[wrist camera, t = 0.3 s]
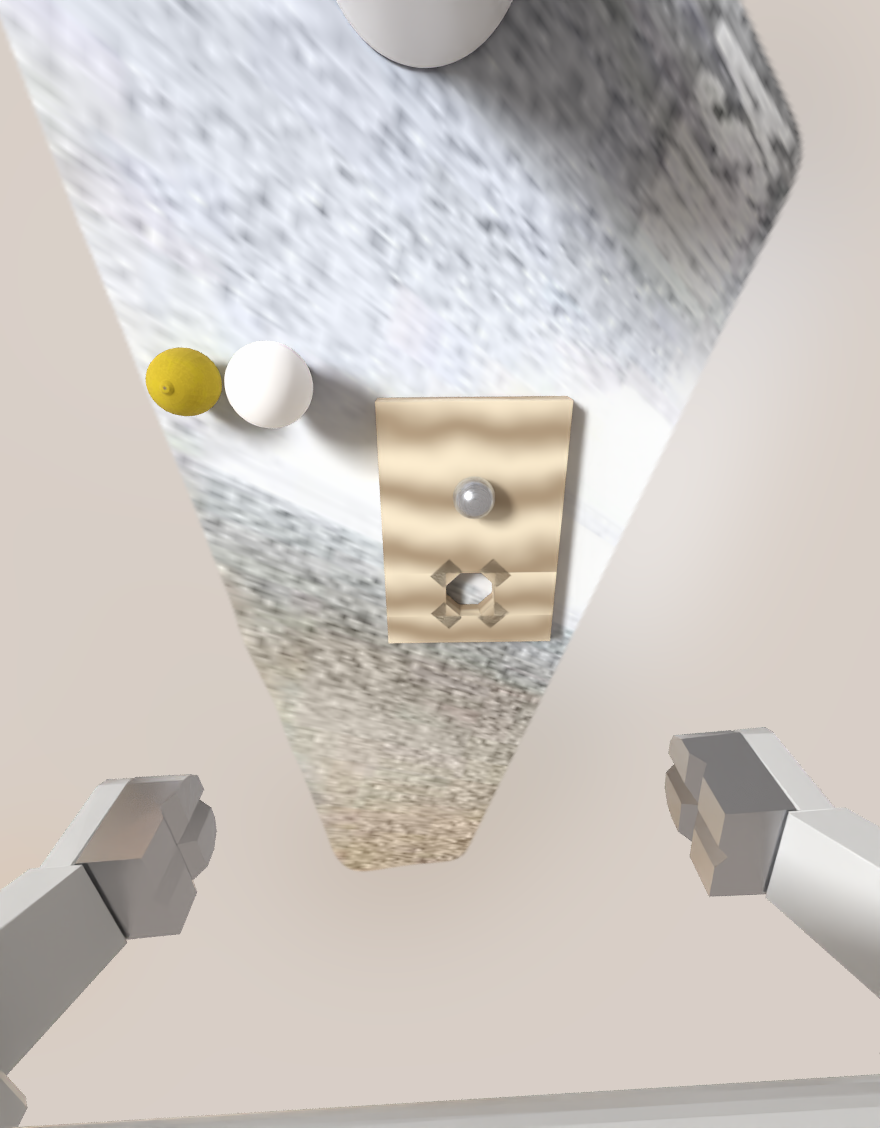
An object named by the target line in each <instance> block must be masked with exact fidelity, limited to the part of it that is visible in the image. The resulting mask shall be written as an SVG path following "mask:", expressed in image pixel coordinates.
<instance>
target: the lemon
mask: <svg viewBox="0 0 880 1128" xmlns="http://www.w3.org/2000/svg"><path fill="white" fill-rule="evenodd" d="M146 386H147V389H148V392H149V394H150V396H151V397H152V399H153V400H154V401H155V402H156V403H157V404H158V405H159V406H160V407H161V408H163V409H164V410H166V411H168V412H170V413H172V414H176V415H181V416H195V415H199V414H202V413H204V412H206V411H208V410H209V409H210V408H212V407H213V406H214V405H215V403H216V402H217V401H218V399H219V397H220V394H221V391H222V381H221V376H220V373H219V371H218V369H217V367H216V366H215V364H214V363H213V362H212V361H211V360H210V359H209V358H208V357H207V356H205V355H204V354H202V353H200V352H199V351H196V350H193V349H190V348H173V349H168V350H166V351H164V352H162V353H160V354H159V355H157V356H156V357H155V358H154V359H153V361H152V362H151V363H150V365H149V367H148V369H147V373H146Z"/></svg>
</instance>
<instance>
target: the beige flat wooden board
mask: <svg viewBox="0 0 880 1128" xmlns="http://www.w3.org/2000/svg"><path fill="white" fill-rule="evenodd" d="M572 410H573V400H572V399H571V398H569V397H568V396H525V397H412V398H377V399H376V401H375V413H376V431H377V448H378V466H379V483H380V501H381V518H382V536H383V553H384V571H385V588H386V606H387V623H388V641H389V643H437V642H511V641H550V635H551V625H552V614H553V604H554V594H555V584H556V573H557V563H558V553H559V543H560V533H561V522H562V512H563V502H564V492H565V481H566V471H567V461H568V451H569V440H570V430H571V420H572ZM471 476H477V477H481V478H484V479H485V480H487V481H488V482H489V483H490V484H491V485H492V487H493V489H494V492H495V503H494V506H493V508H492V510H491V511H490V512H489V513H488V514H487V515H486V516H484V517H482V518H479V519H469V518H466V517H464V516H462V515H461V514H460V513H459V512H458V511H457V510H456V508H455V506H454V504H453V492H454V489H455V487H456V486H457V484H458V483H459V482H460V481H461V480H463V479H465V478H467V477H471ZM460 573H482V574H483V575H484V576H485V577H486V578H487V579H488V580H490V581H491V582H492V593H491V594H489V595H488V596H487V597H486V598H485V599H484V600H482V601H481V602H480V603H479V604H458V603H457V602H455V601H454V600H453V599H452V598H451V597H450V596H449V595H447V594H446V586H447V585H448V584H449V583H450V582H451V581H452V580H453V579H455V578H456V577H457V576H458V575H459V574H460Z"/></svg>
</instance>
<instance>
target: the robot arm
mask: <svg viewBox="0 0 880 1128" xmlns="http://www.w3.org/2000/svg"><path fill="white" fill-rule="evenodd" d="M336 1H337V3H338V5H339V6H340V8H341V10H342V12H343V14H344V15H345V17H346V18H347V20H348V21H349V23H350V24H351V26H352V27H353V28H354V29H355V31H356V32H357V33H358V34H359V35H360V37H361V38H362V39H363V40H364V41H365V42H366V43H367V44H369V45H370V46H371V47H372V48H373V49H375V50H376V51H377V52H379V53H380V54H382V55H383V56H385V57H387V58H389V59H390V60H393V61H395V62H397V63H400V64H403V65H406V66H411V67H417V68H434V67H440V66H444V65H448V64H451V63H454V62H456V61H458V60H460V59H462V58H464V57H466V56H467V55H469V54H470V53H472V52H473V51H475V50H476V49H477V48H478V47H479V46H481V45H482V44H483V43H484V42H485V41H486V40H487V39H488V38H489V36H490V35H491V34H492V33H493V32H494V30H495V29H496V28H497V27H498V25H499V24H500V22H501V21H502V19H503V18H504V16H505V14H506V12H507V11H508V9H509V7H510V5H511V3H512V1H513V0H336ZM669 755H670V757H671V758H672V760H673V763H674V765H673V766H672V767H671V768H670V769H669V770H668V771H667V772H666V780H665V791H666V798H667V804H668V807H669V811H670V813H671V817H672V819H673V821H674V824H675V825H676V828H677V830H678V832H680V833H681V834H682V835H684V836H685V837H686V838H688V839H689V840H691V841H692V845H691V852H690V858H691V860H692V862H693V864H694V866H695V868H696V870H697V872H698V874H699V877H700V878H701V881H702V883H703V885H704V887H705V889H706V891H707V893H708V895H709V896H731V895H732V896H733V895H757V894H766V898H767V899H768V900H769V901H770V902H772V903H773V904H774V905H775V906H776V907H777V908H778V909H779V910H780V911H782V912H783V913H784V914H785V915H786V916H787V917H789V919H791V920H792V921H793V922H794V923H795V924H796V925H797V926H799V927H800V928H801V929H802V930H803V931H804V932H805V933H806V934H808V935H809V936H810V937H811V938H812V939H813V940H814V941H815V942H817V943H818V944H819V945H820V946H821V947H822V948H823V949H825V950H826V951H827V952H828V953H829V954H830V955H831V956H832V957H833V958H835V959H836V960H837V961H838V962H839V963H840V964H841V965H842V966H844V967H845V968H846V969H847V970H848V971H849V972H850V973H852V974H853V975H854V976H855V977H856V978H857V979H858V980H859V981H861V982H862V983H863V984H864V985H865V986H866V987H867V988H868V989H870V990H871V991H872V992H873V993H874V994H875V995H876V996H878V997H879V998H880V827H879V826H877V825H876V824H874V823H872V822H870V821H869V820H867V819H865V818H863V817H861V816H860V815H858V814H856V813H854V812H853V811H851V810H849V809H847V808H835V807H834V806H833V805H832V803H831V802H830V801H829V800H828V798H826V796H825V795H824V793H823V792H822V791H821V790H820V789H819V787H818V786H817V785H816V784H815V782H814V781H813V780H812V779H811V778H810V776H809V775H808V774H807V773H806V772H805V770H804V769H803V768H802V767H801V765H800V764H799V763H798V762H797V761H796V759H795V758H794V757H793V756H792V755H791V753H790V752H789V751H788V750H787V748H786V747H785V746H784V745H783V744H782V742H781V741H780V740H779V739H778V737H777V736H776V735H775V734H774V733H773V731H771V730H769V729H768V728H766V727H762V728H752V729H740V730H734V731H731V730H729V731H718V732H706V733H695V734H684V735H674V736H673V737H672V739H671V741H670V746H669ZM203 790H204V788H203V786H202V784H201V782H200V780H199V777H198V776H197V775H191V774H188V775H169V776H151V777H135V778H123V779H107V780H106V781H104V782H102V783H101V784H99V785H98V786H97V787H96V788H95V790H94V791H93V793H92V794H91V796H90V797H89V798H88V800H87V801H86V803H85V804H84V805H83V807H82V808H81V810H80V811H79V812H78V814H77V815H76V817H75V818H74V819H73V821H72V822H71V824H70V825H69V827H68V828H67V829H66V831H65V832H64V834H63V835H62V836H61V838H60V839H59V841H58V842H57V843H56V845H55V847H54V848H53V849H52V851H51V852H50V854H49V855H48V856H47V858H46V859H45V860H44V862H43V863H42V865H41V866H40V868H33V869H29V870H27V871H26V872H25V873H23V874H22V875H20V876H19V877H18V878H16V879H15V880H14V881H12V882H11V883H9V884H8V885H7V886H5V887H4V888H2V889H1V890H0V1128H880V1074H877V1075H861V1076H844V1077H827V1078H811V1079H795V1080H778V1081H762V1082H745V1083H729V1084H714V1085H696V1086H680V1087H663V1088H648V1089H631V1090H614V1091H598V1092H581V1093H565V1094H549V1095H532V1096H516V1097H499V1098H484V1099H467V1100H450V1101H434V1102H417V1103H402V1104H386V1105H368V1106H352V1107H335V1108H319V1109H303V1110H287V1111H270V1112H254V1113H237V1114H221V1115H205V1116H189V1117H173V1118H157V1119H140V1120H124V1121H108V1122H91V1123H76V1124H59V1125H45V1126H28V1127H18V1125H19V1124H20V1122H21V1119H22V1118H23V1116H24V1114H25V1112H26V1110H27V1103H26V1097H25V1095H24V1094H23V1093H22V1092H21V1091H20V1090H19V1089H18V1088H17V1087H16V1086H15V1084H14V1083H13V1082H12V1081H11V1080H10V1079H9V1078H8V1077H7V1076H6V1075H7V1074H8V1073H9V1072H10V1071H11V1070H12V1069H13V1067H15V1066H16V1064H17V1063H18V1062H19V1061H20V1060H21V1059H22V1058H23V1057H24V1056H25V1055H26V1053H27V1052H28V1051H29V1050H30V1049H31V1048H32V1047H33V1046H34V1044H36V1042H37V1041H38V1040H39V1039H40V1038H41V1037H42V1036H43V1035H44V1034H45V1032H46V1031H47V1030H48V1029H49V1028H50V1027H51V1026H52V1025H53V1024H54V1023H55V1022H56V1021H57V1019H58V1018H59V1017H60V1016H61V1015H62V1014H63V1013H64V1012H65V1011H66V1009H67V1008H68V1007H69V1006H70V1005H71V1004H72V1003H73V1002H74V1001H75V1000H76V998H77V997H78V996H79V995H80V994H81V993H82V992H83V991H84V990H85V988H87V986H88V985H89V984H90V983H91V982H92V981H93V980H94V979H95V978H96V976H97V975H98V974H99V973H100V972H101V971H102V970H103V969H104V968H105V967H106V966H107V964H108V963H109V962H110V961H111V960H112V959H113V958H114V957H115V956H116V955H117V953H118V952H119V951H120V950H121V949H122V948H123V947H124V946H125V945H126V943H127V941H126V940H127V939H136V938H146V937H156V936H166V935H176V934H180V933H181V930H182V928H183V925H184V923H185V921H186V918H187V916H188V913H189V911H190V908H191V906H192V903H193V901H194V898H195V896H196V893H197V891H196V887H195V884H194V881H193V879H195V877H197V876H198V875H199V874H200V873H201V872H202V871H203V870H204V869H205V868H206V867H207V866H208V864H209V861H210V858H211V856H212V853H213V851H214V845H215V838H216V822H215V817H214V814H213V811H212V809H211V807H210V806H208V805H207V804H205V803H204V802H202V801H201V800H199V799H200V797H201V795H202V792H203Z"/></svg>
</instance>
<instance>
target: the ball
mask: <svg viewBox="0 0 880 1128" xmlns="http://www.w3.org/2000/svg"><path fill="white" fill-rule="evenodd" d="M494 503H495V492H494V489H493V487H492V485H491V484H490V483H489V482H488V481H487V480H485V479H484V478H481V477H477V476H471V477H467V478H465V479H463V480H461V481H460V482H459V483H458V484H457V486H456V487H455V489H454V492H453V504H454V506H455V508H456V510H457V511H458V512H459V513H460V514H461V515H462V516H464V517H466V518H469V519H479V518H482V517H484V516H486V515H487V514H488V513H489V512H490V511H491V510H492V508H493V506H494Z"/></svg>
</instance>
